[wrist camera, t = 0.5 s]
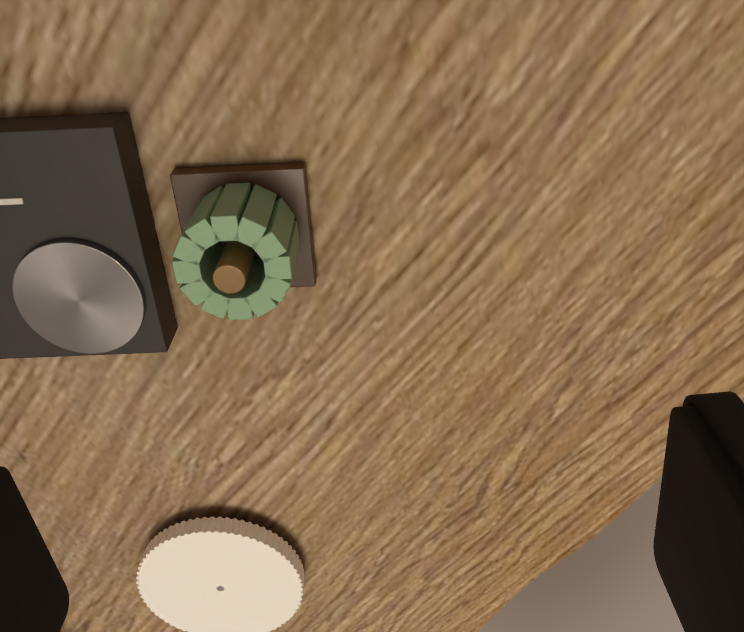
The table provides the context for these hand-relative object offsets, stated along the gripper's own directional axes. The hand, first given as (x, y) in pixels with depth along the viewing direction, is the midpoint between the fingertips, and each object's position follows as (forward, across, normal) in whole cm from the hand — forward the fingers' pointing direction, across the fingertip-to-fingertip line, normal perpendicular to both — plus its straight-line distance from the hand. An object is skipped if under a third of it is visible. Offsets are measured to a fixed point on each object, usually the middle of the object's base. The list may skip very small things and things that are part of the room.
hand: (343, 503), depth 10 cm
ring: (+33, +8, +10) cm, 35 cm away
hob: (+34, +22, +9) cm, 41 cm away
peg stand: (+34, +8, +9) cm, 37 cm away
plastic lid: (+35, +17, +41) cm, 57 cm away
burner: (+31, +19, +12) cm, 39 cm away
